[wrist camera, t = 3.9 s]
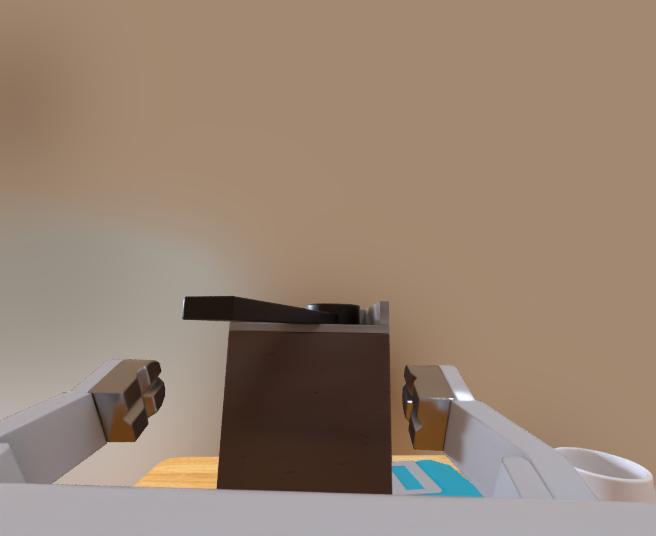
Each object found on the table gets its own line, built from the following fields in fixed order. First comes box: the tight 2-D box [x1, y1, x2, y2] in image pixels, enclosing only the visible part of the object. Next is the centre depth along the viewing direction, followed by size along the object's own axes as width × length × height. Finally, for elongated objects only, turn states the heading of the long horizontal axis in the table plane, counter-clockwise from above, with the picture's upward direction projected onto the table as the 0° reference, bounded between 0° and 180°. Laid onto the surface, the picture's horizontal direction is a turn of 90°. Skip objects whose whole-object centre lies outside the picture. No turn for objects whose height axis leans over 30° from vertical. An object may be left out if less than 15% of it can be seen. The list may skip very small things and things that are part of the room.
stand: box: [217, 301, 392, 495], centre depth 22 cm, size 10×10×28 cm
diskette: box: [392, 460, 484, 497], centre depth 43 cm, size 26×28×1 cm
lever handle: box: [182, 296, 360, 325], centre depth 19 cm, size 18×4×2 cm, turn 163°
